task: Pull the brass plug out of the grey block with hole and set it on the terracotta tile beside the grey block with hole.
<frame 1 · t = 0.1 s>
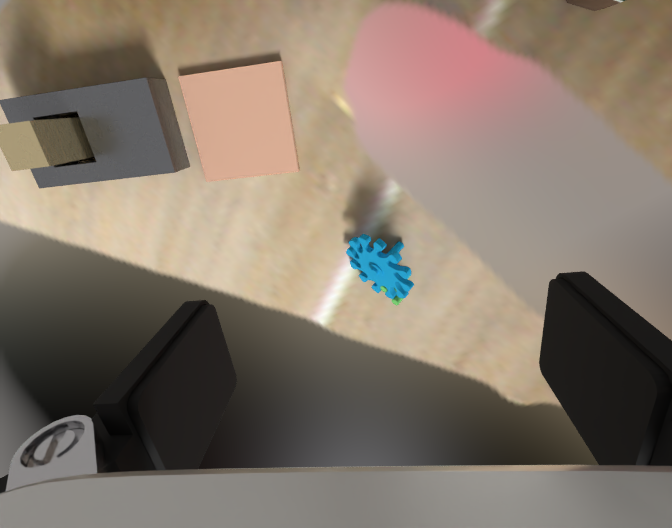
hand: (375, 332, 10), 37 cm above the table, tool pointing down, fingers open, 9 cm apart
gear: (379, 258, 49), on the table
grey block with hole: (111, 133, 45), on the table
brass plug: (89, 136, 45), resting in grey block with hole
terracotta tile: (242, 125, 43), on the table
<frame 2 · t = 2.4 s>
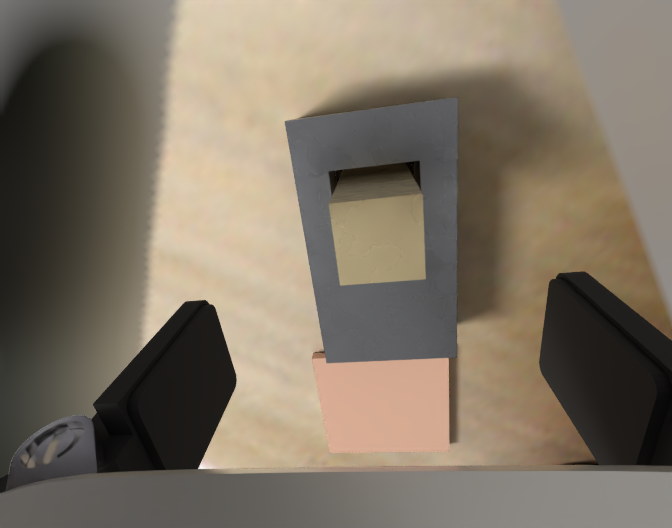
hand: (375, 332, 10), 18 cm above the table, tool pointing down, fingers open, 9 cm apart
grey block with hole: (379, 233, 28), on the table
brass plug: (376, 195, 27), resting in grey block with hole
terracotta tile: (383, 400, 35), on the table
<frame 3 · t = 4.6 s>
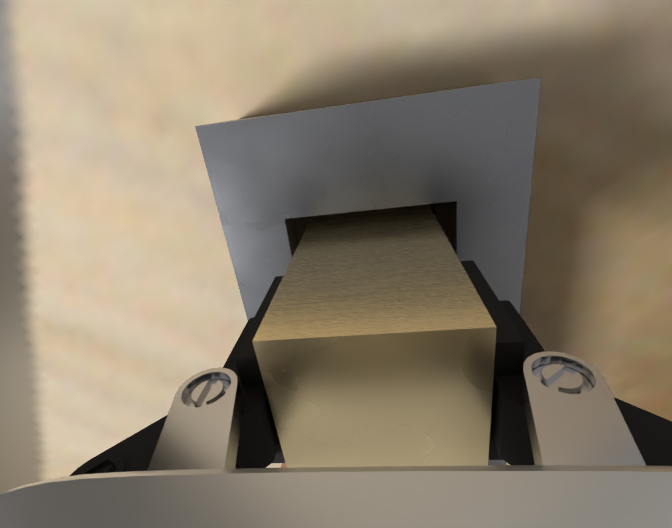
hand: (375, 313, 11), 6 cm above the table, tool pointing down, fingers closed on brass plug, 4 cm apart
grey block with hole: (379, 301, 18), on the table
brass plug: (373, 243, 16), resting in grey block with hole, touching gripper
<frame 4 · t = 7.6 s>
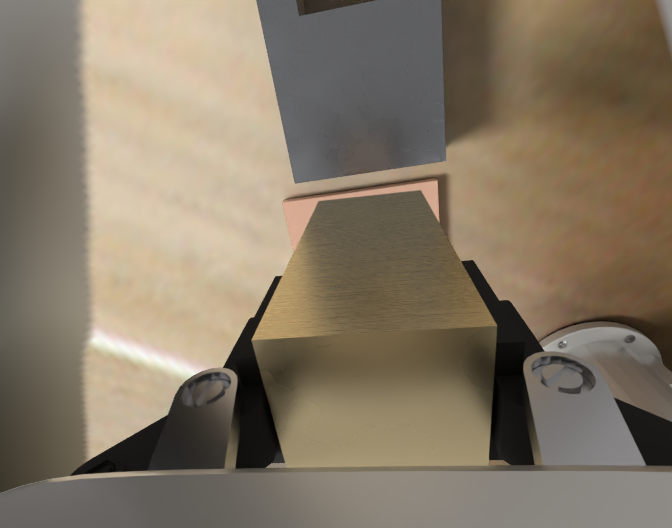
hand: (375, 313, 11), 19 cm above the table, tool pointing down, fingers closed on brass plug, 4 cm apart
grey block with hole: (350, 22, 24), on the table
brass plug: (373, 243, 16), point 13 cm above the table, touching gripper
terracotta tile: (367, 257, 31), on the table
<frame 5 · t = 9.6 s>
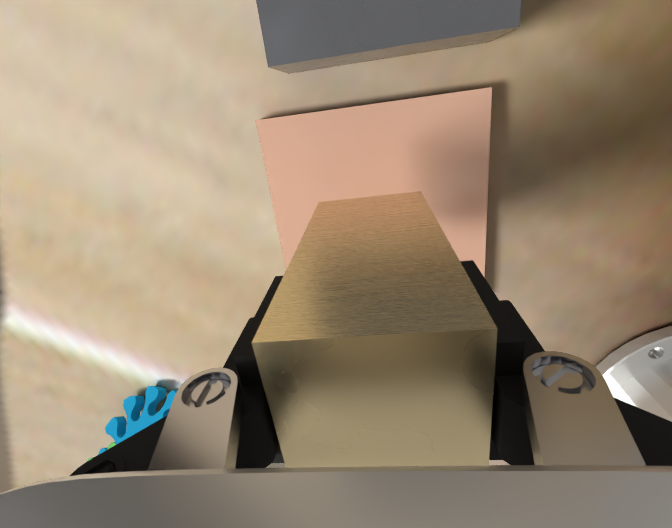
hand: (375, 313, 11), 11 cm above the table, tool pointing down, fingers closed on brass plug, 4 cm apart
gear: (171, 415, 31), on the table
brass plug: (373, 244, 16), point 5 cm above the table, touching gripper
terracotta tile: (378, 213, 21), on the table
when the fingers open (8 cm above the table, at t = 11.0 s): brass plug drops 1 cm, resting on terracotta tile.
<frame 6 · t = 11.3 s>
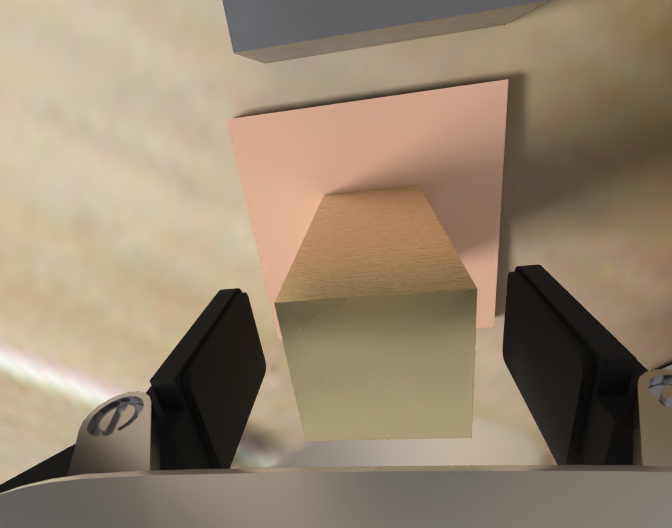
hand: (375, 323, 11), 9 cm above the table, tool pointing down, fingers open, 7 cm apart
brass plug: (374, 233, 18), point 1 cm above the table, touching terracotta tile
terracotta tile: (372, 227, 18), on the table
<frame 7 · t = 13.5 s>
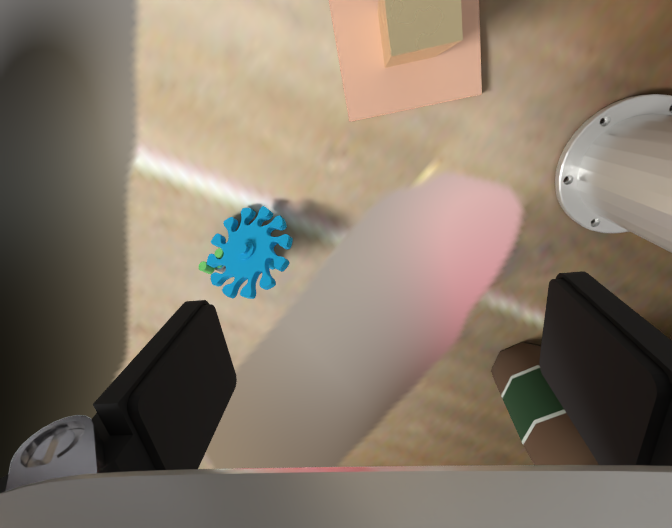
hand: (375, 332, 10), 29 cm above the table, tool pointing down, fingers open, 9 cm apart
gear: (255, 239, 41), on the table
beer bottle: (521, 364, 45), on the table
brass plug: (406, 33, 31), point 1 cm above the table, touching terracotta tile
terracotta tile: (405, 34, 31), on the table
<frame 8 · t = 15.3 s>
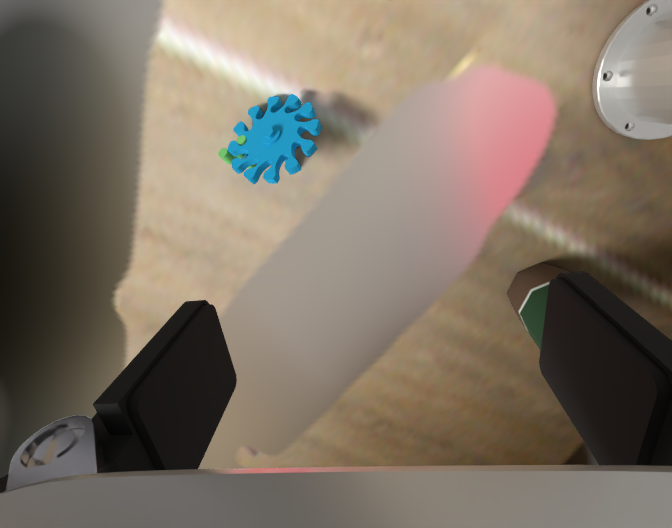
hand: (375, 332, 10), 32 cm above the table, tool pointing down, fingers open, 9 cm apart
gear: (277, 136, 40), on the table
beer bottle: (537, 288, 45), on the table
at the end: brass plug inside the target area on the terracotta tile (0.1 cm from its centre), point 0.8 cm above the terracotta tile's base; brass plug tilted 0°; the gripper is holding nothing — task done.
